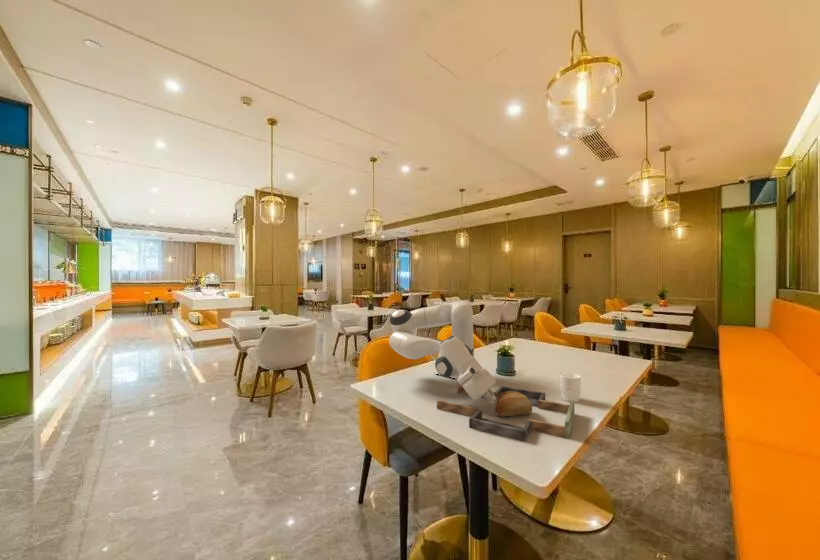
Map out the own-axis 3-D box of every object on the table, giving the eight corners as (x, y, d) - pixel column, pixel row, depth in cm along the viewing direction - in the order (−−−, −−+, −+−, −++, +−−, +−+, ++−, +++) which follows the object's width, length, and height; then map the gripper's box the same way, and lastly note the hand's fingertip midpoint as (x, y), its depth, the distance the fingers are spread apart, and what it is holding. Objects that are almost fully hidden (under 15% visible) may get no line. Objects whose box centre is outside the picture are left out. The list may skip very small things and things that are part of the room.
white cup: (576, 396, 136) (575, 372, 136) (584, 403, 129) (584, 378, 129) (557, 395, 137) (556, 372, 137) (564, 402, 129) (563, 378, 129)
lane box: (425, 417, 117) (425, 403, 117) (465, 386, 150) (465, 375, 150) (566, 451, 93) (566, 434, 93) (576, 405, 126) (576, 393, 126)
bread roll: (488, 412, 121) (488, 391, 121) (521, 406, 125) (521, 386, 125) (503, 422, 112) (503, 399, 112) (538, 416, 116) (538, 394, 116)
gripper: (474, 369, 135) (496, 398, 130) (455, 382, 118) (479, 415, 113) (485, 361, 133) (507, 389, 128) (467, 372, 115) (492, 406, 110)
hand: (494, 401), depth 120 cm, fingers closed
